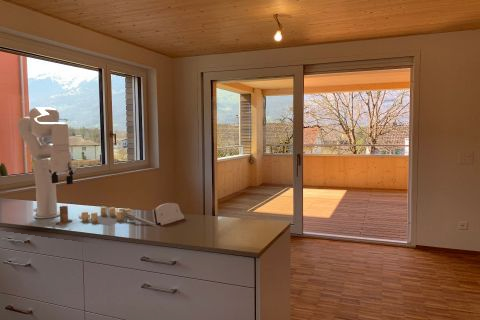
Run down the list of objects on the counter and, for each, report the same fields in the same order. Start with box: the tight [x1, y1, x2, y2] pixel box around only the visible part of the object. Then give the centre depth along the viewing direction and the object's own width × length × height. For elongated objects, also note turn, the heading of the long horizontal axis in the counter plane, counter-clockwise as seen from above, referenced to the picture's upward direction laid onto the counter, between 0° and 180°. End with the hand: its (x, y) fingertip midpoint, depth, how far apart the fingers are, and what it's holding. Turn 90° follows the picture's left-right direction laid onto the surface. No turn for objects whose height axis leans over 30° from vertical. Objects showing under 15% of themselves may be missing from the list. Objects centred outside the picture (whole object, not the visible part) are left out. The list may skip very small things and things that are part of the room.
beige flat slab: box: [152, 202, 185, 226], centre depth 182 cm, size 17×5×10 cm, turn 146°
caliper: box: [122, 210, 157, 227], centre depth 176 cm, size 20×1×6 cm, turn 67°
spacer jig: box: [79, 206, 132, 226], centre depth 183 cm, size 20×18×5 cm
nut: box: [78, 213, 91, 219], centre depth 189 cm, size 5×6×2 cm
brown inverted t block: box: [55, 205, 73, 226], centre depth 177 cm, size 3×7×9 cm, turn 160°
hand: (62, 183), depth 175 cm, fingers open, 9 cm apart
